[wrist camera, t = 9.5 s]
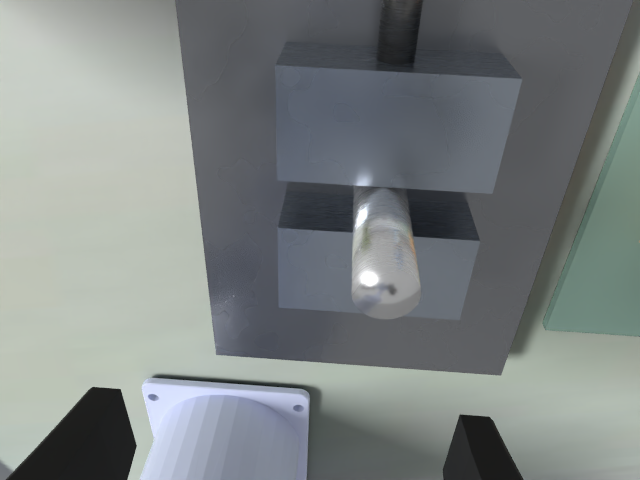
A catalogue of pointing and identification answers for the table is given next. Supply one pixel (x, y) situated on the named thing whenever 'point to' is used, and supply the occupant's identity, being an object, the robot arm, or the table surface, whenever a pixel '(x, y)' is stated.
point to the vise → (385, 168)
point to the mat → (606, 245)
